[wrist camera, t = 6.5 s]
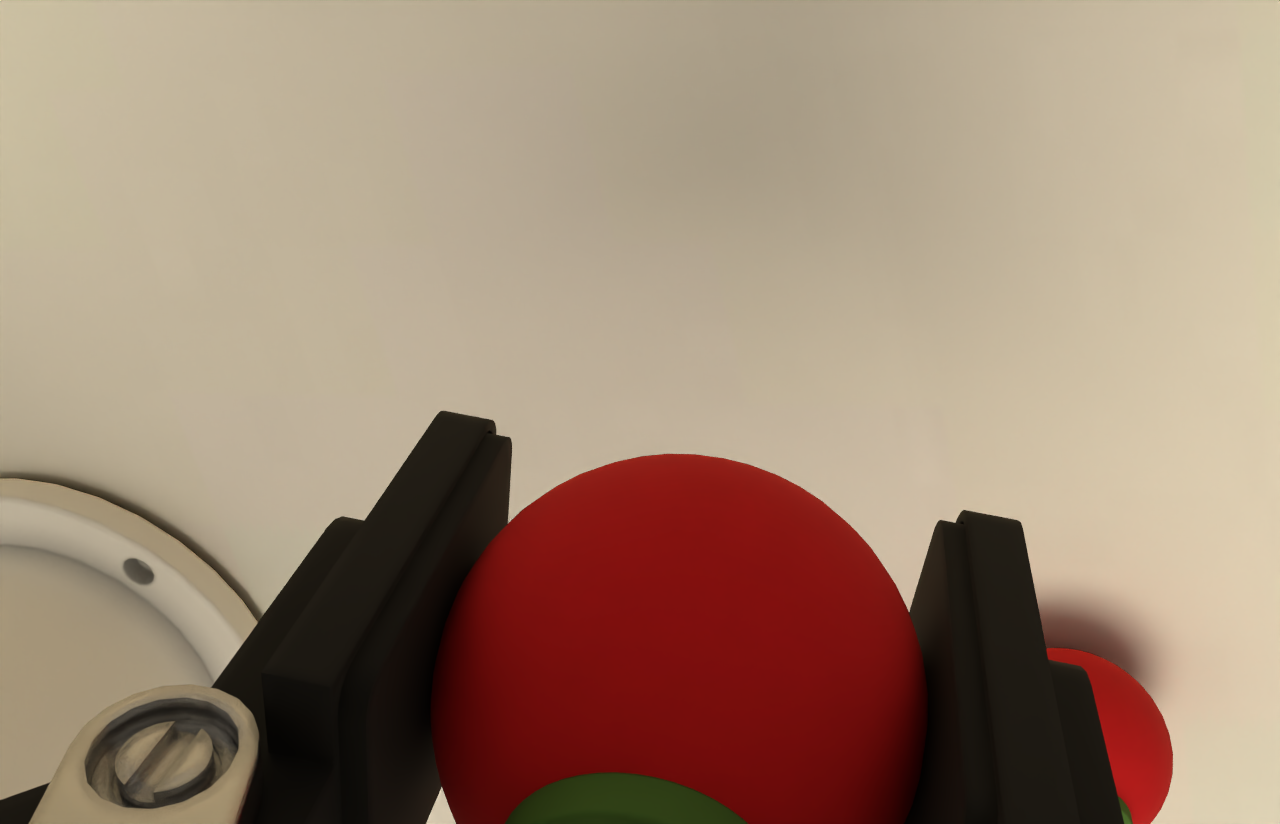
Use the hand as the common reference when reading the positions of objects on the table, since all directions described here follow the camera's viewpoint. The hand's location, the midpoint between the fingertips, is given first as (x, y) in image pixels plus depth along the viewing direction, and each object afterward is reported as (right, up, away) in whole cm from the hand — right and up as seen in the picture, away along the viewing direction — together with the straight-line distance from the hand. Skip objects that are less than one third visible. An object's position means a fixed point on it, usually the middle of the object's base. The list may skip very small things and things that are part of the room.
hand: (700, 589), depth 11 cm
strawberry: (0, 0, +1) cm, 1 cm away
